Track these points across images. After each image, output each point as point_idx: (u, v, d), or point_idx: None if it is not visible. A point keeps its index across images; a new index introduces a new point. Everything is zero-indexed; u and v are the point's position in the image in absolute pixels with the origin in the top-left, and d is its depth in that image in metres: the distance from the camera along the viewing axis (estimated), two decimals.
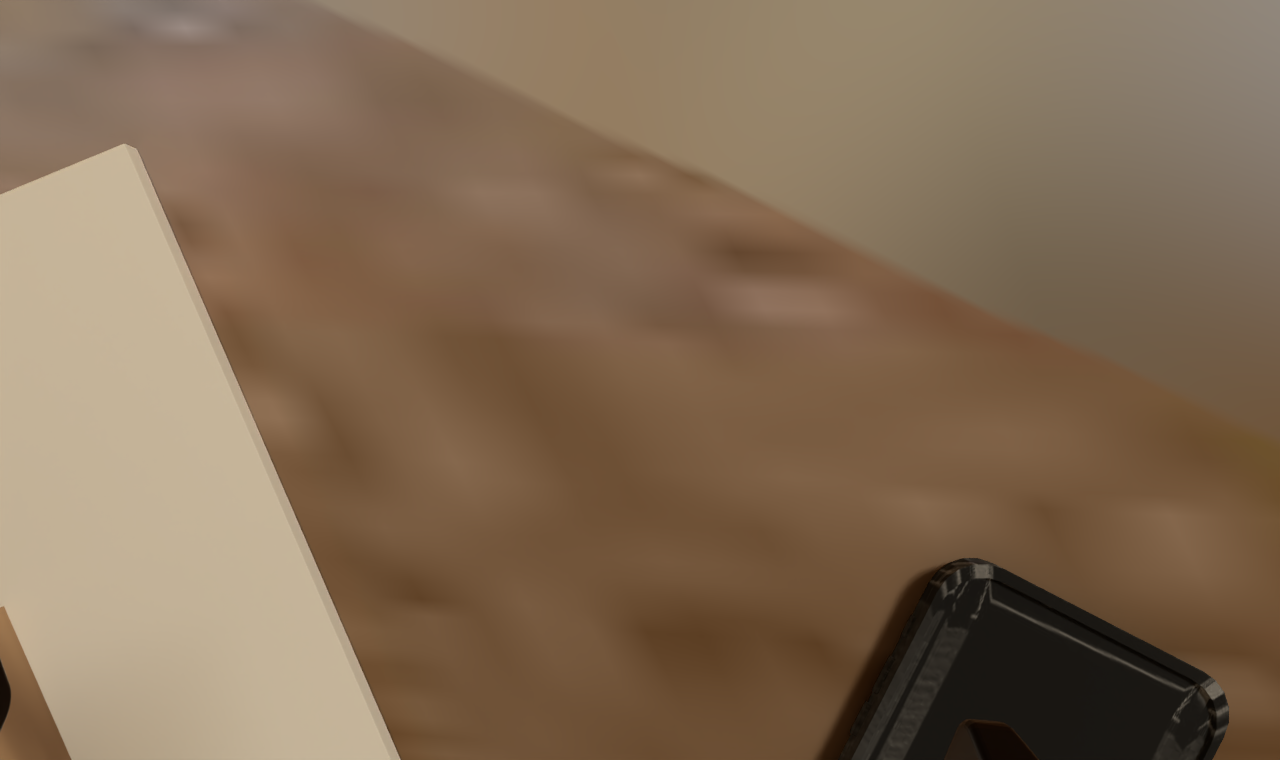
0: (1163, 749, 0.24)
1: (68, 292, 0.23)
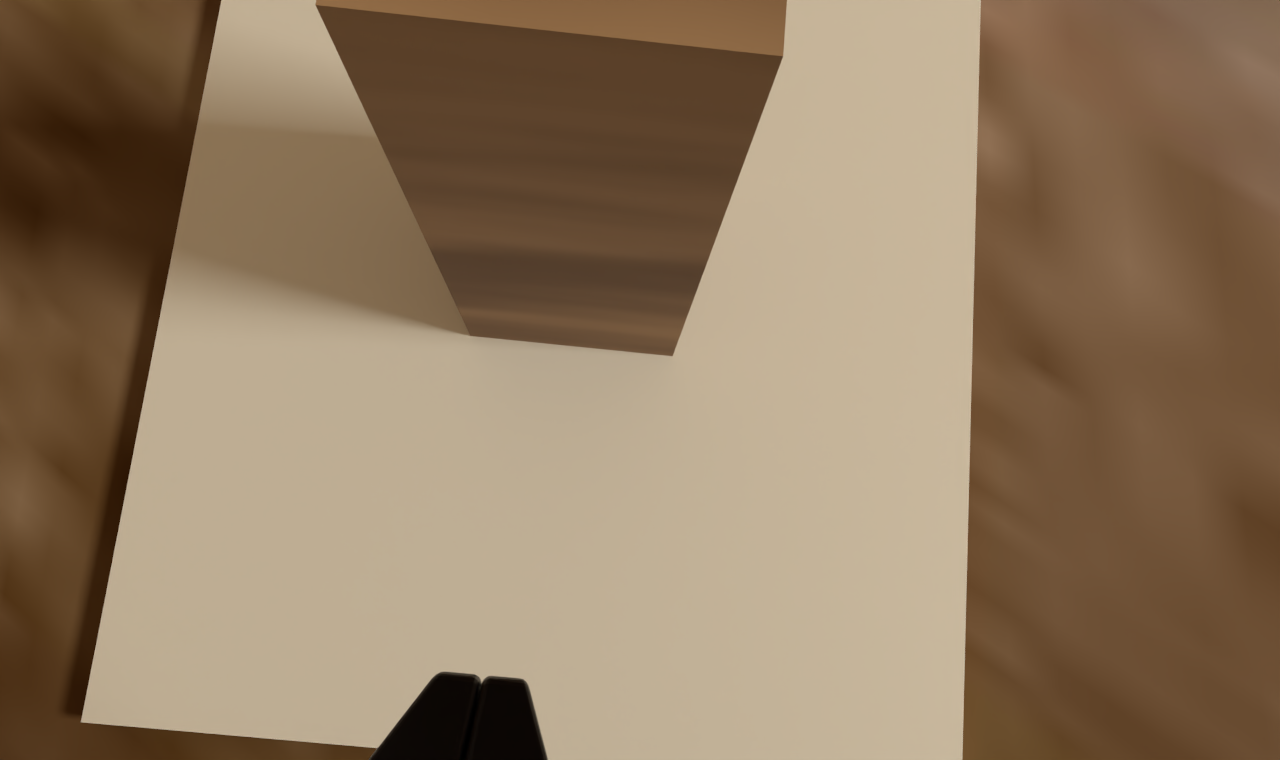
0: None
1: None
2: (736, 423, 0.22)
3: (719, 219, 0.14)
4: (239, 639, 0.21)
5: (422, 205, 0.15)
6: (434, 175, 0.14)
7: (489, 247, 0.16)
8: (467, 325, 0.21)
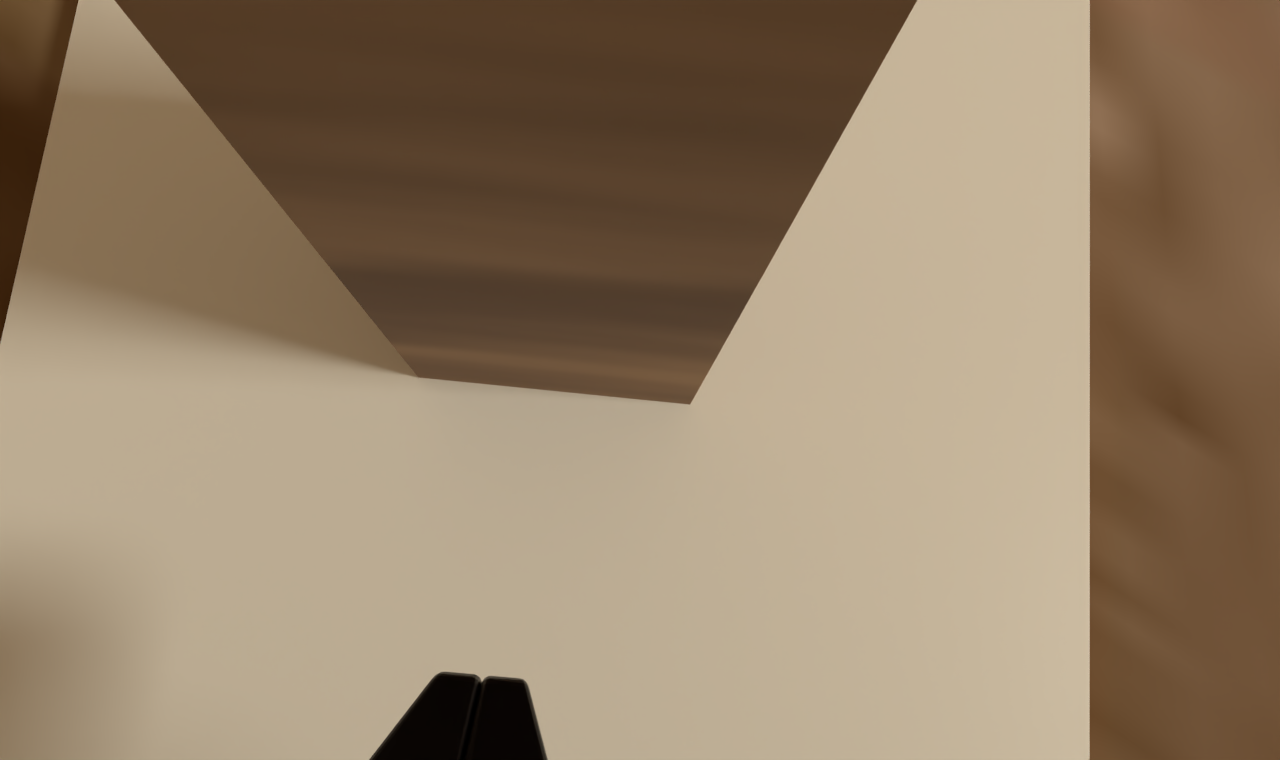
0: None
1: None
2: (776, 495, 0.17)
3: (786, 221, 0.08)
4: None
5: (294, 197, 0.09)
6: (296, 144, 0.08)
7: (418, 264, 0.10)
8: (411, 365, 0.16)
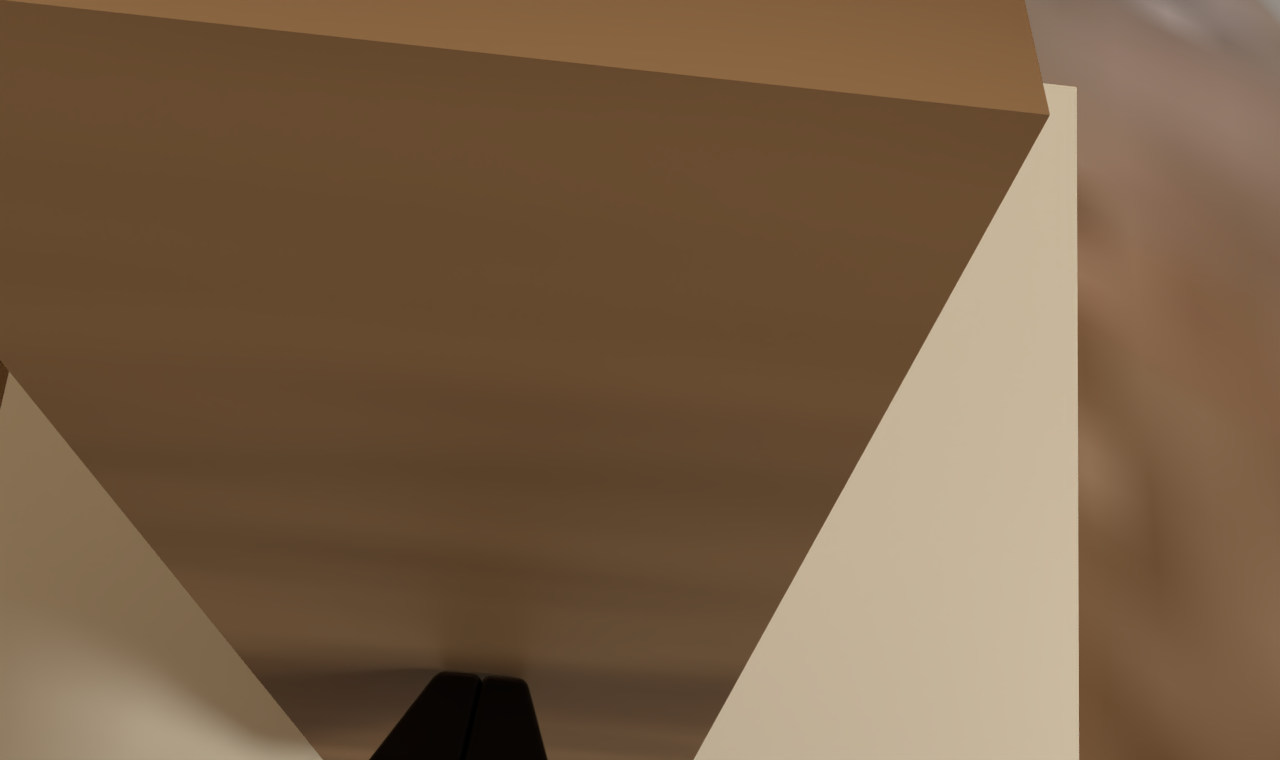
0: None
1: None
2: None
3: (777, 593, 0.07)
4: None
5: (198, 572, 0.08)
6: (198, 509, 0.07)
7: (343, 650, 0.09)
8: None
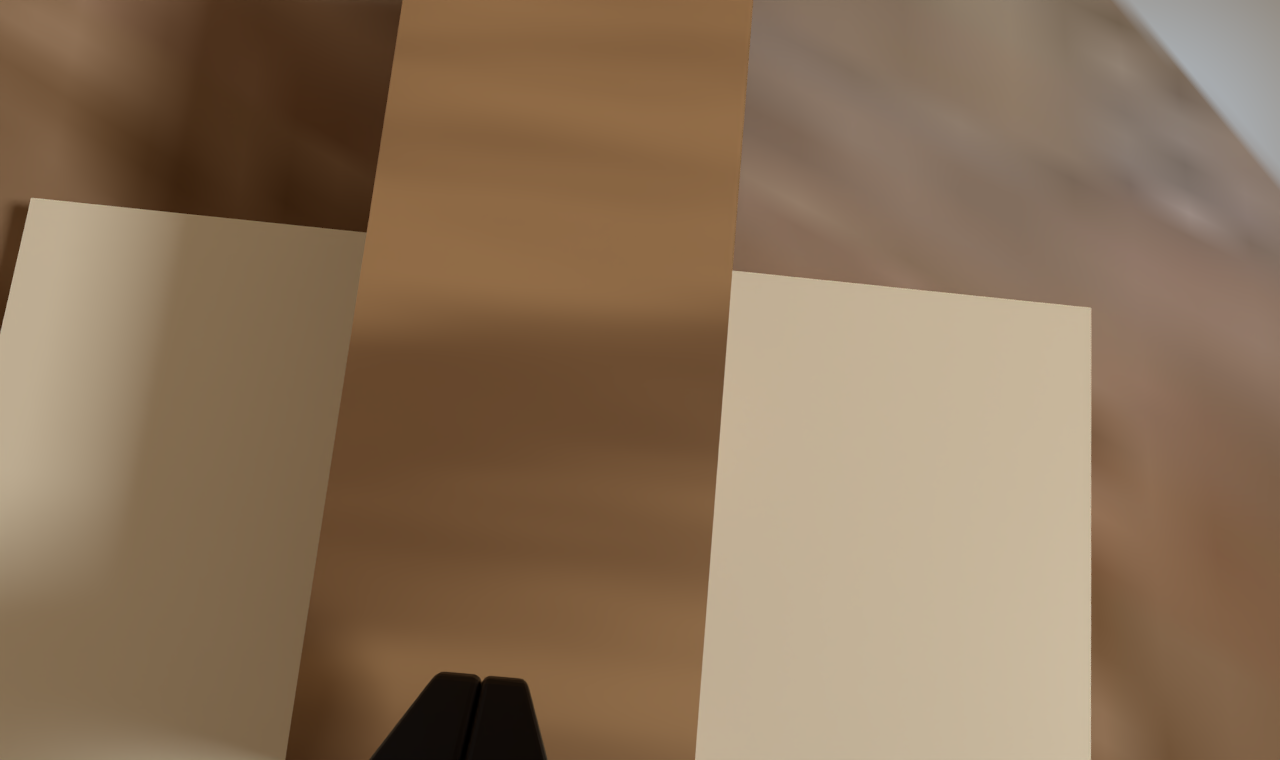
0: None
1: (940, 446, 0.17)
2: None
3: (736, 167, 0.13)
4: None
5: (391, 180, 0.12)
6: (431, 96, 0.13)
7: (441, 310, 0.12)
8: None
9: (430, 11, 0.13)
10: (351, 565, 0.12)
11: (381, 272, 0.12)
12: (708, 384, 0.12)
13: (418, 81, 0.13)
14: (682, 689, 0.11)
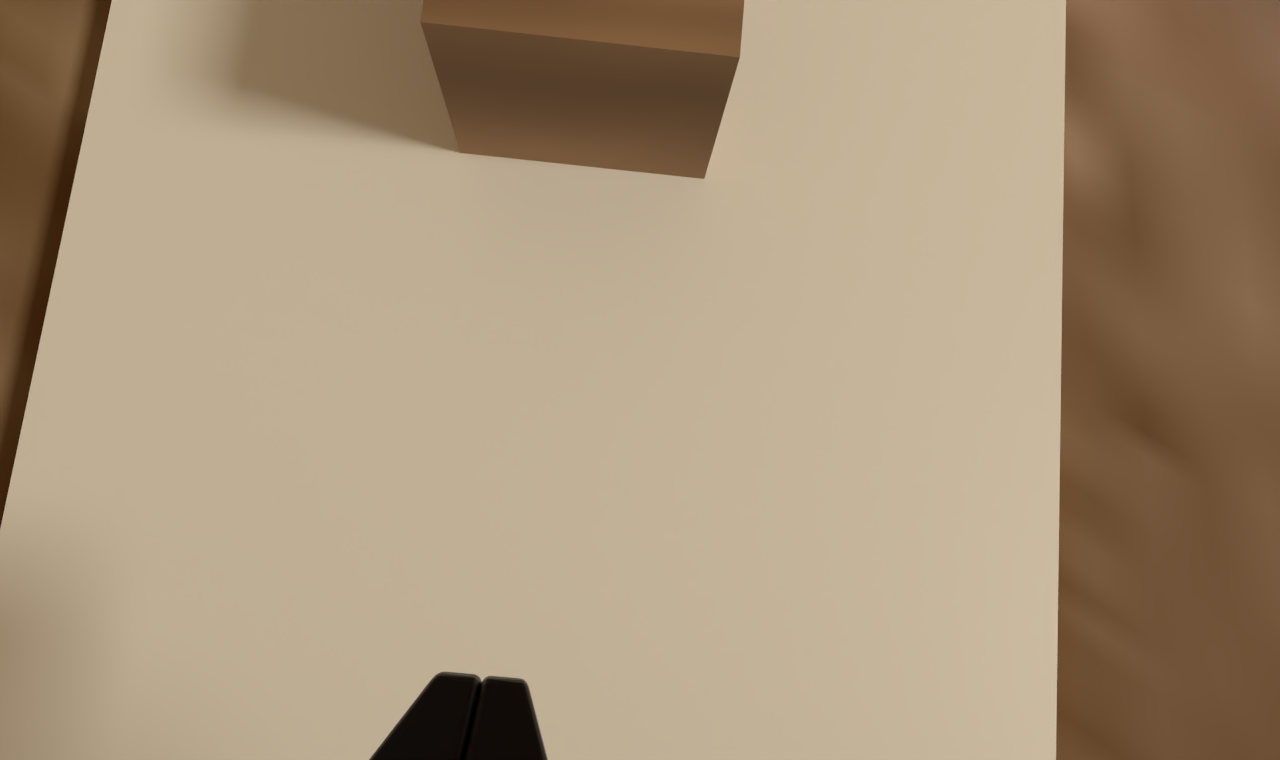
0: None
1: None
2: (764, 509, 0.18)
3: None
4: None
5: None
6: None
7: None
8: None
9: None
10: None
11: None
12: None
13: None
14: None
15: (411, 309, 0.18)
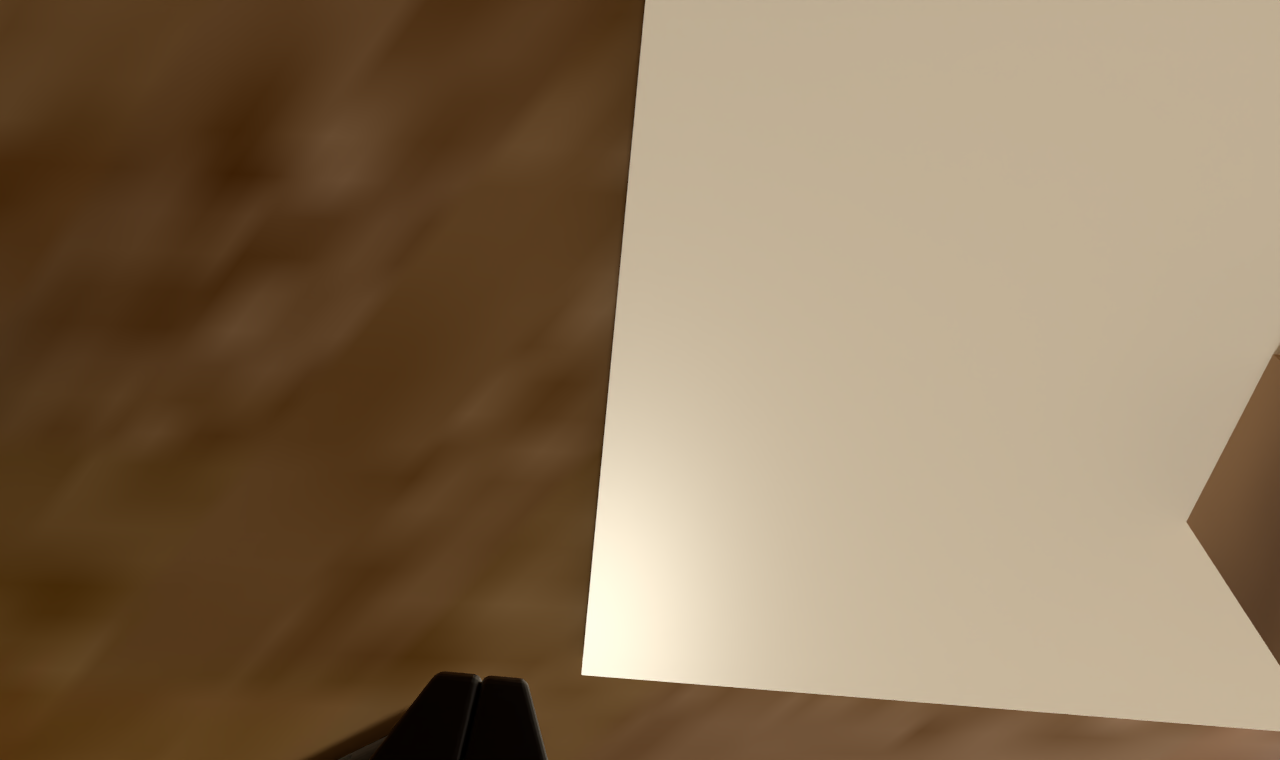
0: None
1: None
2: (911, 549, 0.24)
3: None
4: (740, 109, 0.18)
5: None
6: None
7: None
8: None
9: None
10: None
11: None
12: None
13: None
14: None
15: (1135, 319, 0.20)
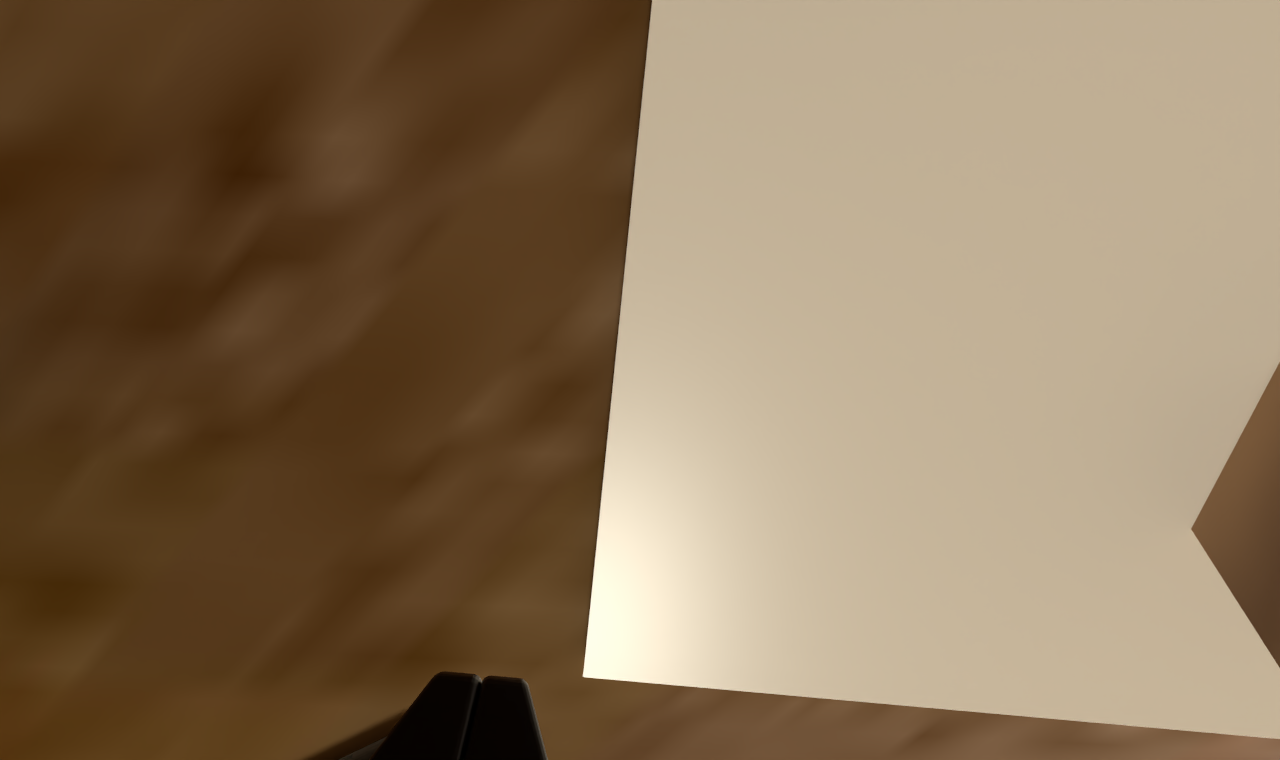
0: None
1: None
2: (914, 554, 0.23)
3: None
4: (747, 113, 0.18)
5: None
6: None
7: None
8: None
9: None
10: None
11: None
12: None
13: None
14: None
15: (1141, 325, 0.20)
